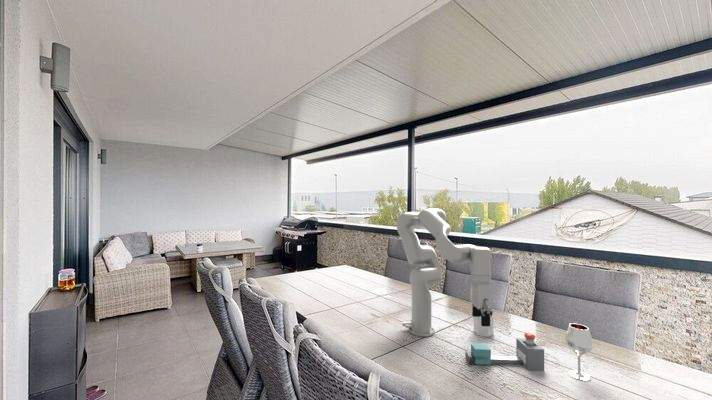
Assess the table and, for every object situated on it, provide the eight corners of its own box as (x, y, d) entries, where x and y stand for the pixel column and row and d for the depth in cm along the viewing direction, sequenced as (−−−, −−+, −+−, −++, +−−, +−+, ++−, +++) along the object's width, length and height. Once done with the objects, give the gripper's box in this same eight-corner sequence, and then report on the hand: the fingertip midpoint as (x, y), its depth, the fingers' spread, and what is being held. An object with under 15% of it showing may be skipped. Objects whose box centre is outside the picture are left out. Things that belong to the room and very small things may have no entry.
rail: (469, 365, 114) (469, 356, 114) (465, 358, 119) (465, 350, 119) (525, 367, 113) (525, 358, 113) (518, 360, 118) (518, 352, 118)
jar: (485, 338, 137) (485, 313, 137) (470, 332, 144) (470, 308, 144) (496, 334, 142) (496, 309, 142) (481, 328, 149) (481, 304, 149)
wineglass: (560, 369, 111) (559, 322, 112) (580, 369, 112) (579, 321, 112) (578, 383, 103) (577, 331, 103) (599, 381, 104) (599, 331, 104)
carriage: (475, 364, 114) (475, 349, 114) (470, 357, 119) (470, 343, 119) (490, 364, 114) (490, 349, 114) (485, 357, 119) (485, 343, 119)
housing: (527, 370, 111) (527, 348, 111) (515, 357, 120) (515, 338, 120) (544, 370, 111) (544, 349, 111) (531, 358, 120) (531, 338, 120)
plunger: (527, 349, 114) (527, 336, 114) (522, 345, 117) (522, 332, 118) (536, 349, 114) (536, 336, 114) (531, 345, 117) (531, 332, 117)
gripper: (464, 273, 126) (464, 312, 126) (479, 283, 109) (479, 330, 108) (482, 273, 126) (482, 313, 125) (499, 284, 108) (500, 330, 108)
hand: (480, 321), depth 117 cm, fingers open, 9 cm apart
